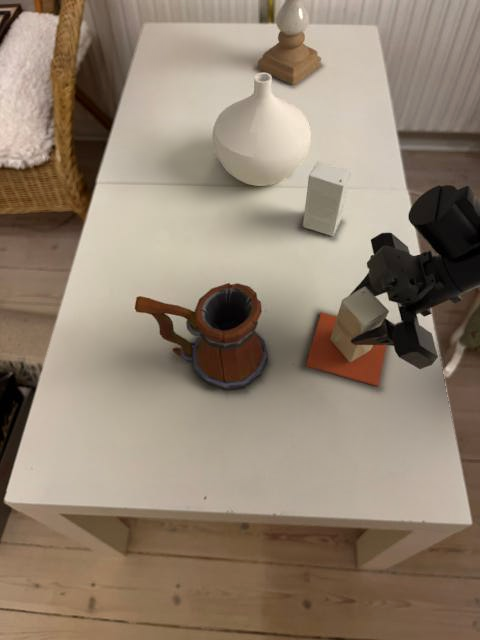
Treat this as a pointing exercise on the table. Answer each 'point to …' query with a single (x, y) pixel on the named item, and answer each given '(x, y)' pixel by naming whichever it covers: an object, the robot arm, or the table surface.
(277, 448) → the table surface
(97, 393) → the table surface
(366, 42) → the table surface
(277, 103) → the vase
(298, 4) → the candle holder
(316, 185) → the cosmetic box
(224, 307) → the mug
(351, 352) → the box
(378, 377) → the mat
